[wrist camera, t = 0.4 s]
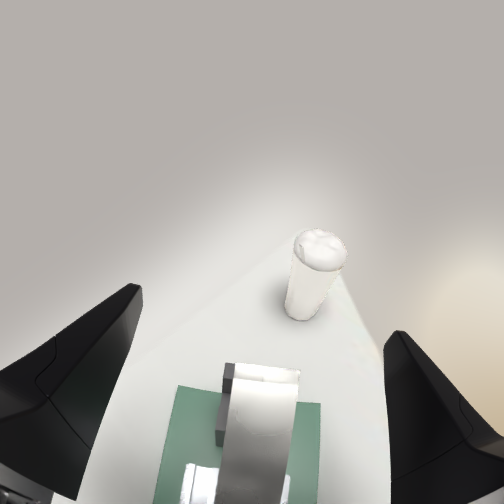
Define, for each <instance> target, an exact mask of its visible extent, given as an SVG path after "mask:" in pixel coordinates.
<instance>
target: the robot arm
mask: <svg viewBox="0 0 504 504" xmlns="http://www.w3.org/2000/svg"><path fill="white" fill-rule="evenodd" d="M142 307H143V299H142V288H141V286H140V285H137V284H133V283H129V284H127V285H126V286H125V287H123V288H122V289H120V290H119V291H117V292H116V293H114V294H113V295H111V296H110V297H108V298H107V299H106V300H104V301H103V302H101V303H100V304H98V305H97V306H95V307H94V308H93V309H91V310H90V311H88V312H87V313H85V314H84V315H83V316H81V317H80V318H79V319H77V320H76V321H74V322H73V323H71V324H70V325H69V326H67V327H66V328H64V329H63V330H62V331H60V332H59V333H58V334H56V337H55V336H53V337H52V338H51V339H49V340H48V341H47V342H45V343H44V344H42V345H41V346H39V347H38V348H37V349H35V350H33V351H32V352H30V353H29V354H27V355H26V356H24V357H22V358H21V359H19V360H17V361H16V362H14V363H12V364H11V365H9V366H7V367H6V368H4V369H3V370H1V371H0V504H51V502H52V498H53V494H54V492H55V493H58V494H60V495H62V496H64V497H67V498H69V499H71V500H74V501H76V499H77V496H78V492H79V489H80V485H81V482H82V479H83V475H84V472H85V469H86V466H87V463H88V460H89V457H90V454H91V450H92V447H93V444H94V441H95V438H96V436H97V433H98V430H99V427H100V424H101V422H102V419H103V416H104V413H105V411H106V408H107V405H108V403H109V400H110V397H111V395H112V392H113V390H114V387H115V385H116V382H117V380H118V377H119V375H120V372H121V370H122V367H123V365H124V362H125V360H126V358H127V355H128V353H129V350H130V347H131V344H132V341H133V338H134V334H135V331H136V327H137V324H138V321H139V318H140V314H141V311H142ZM383 351H384V352H383V354H384V384H385V395H386V404H387V415H388V427H389V442H390V462H391V481H392V482H391V504H504V437H503V436H501V435H499V434H498V433H497V432H496V431H494V429H493V428H492V427H491V426H490V425H489V424H488V423H487V422H486V421H485V420H484V419H483V418H482V417H481V416H480V415H479V414H478V412H477V411H476V410H475V409H474V408H473V407H472V406H471V405H470V404H469V403H468V401H467V400H466V399H465V398H464V397H463V396H462V395H461V393H460V392H459V391H458V390H457V389H456V387H455V386H454V385H453V384H452V383H451V382H450V381H449V379H448V378H447V377H446V376H445V375H444V374H443V373H442V371H441V370H440V369H439V368H438V367H437V366H436V365H435V364H434V362H433V361H432V360H431V359H430V358H429V357H428V356H427V355H426V353H425V352H424V351H423V350H422V349H421V348H420V347H419V346H418V345H417V344H416V342H414V340H413V339H412V338H411V337H410V336H409V335H408V334H407V333H406V332H405V331H398V330H396V331H394V332H393V334H392V335H391V336H390V338H389V339H388V340H387V342H386V343H385V345H384V349H383Z"/></svg>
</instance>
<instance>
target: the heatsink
mask: <svg viewBox="0 0 504 504" xmlns="http://www.w3.org/2000/svg"><path fill="white" fill-rule="evenodd" d="M219 472H220V470H219V468H212V469H211V468H205V467H200V466H196V465H195V464H191V463H189V464H186V468H185V474H184V479H183V485H182V491H181V496H180V502H179V504H215V499H216V492H217V486H218V479H219ZM289 483H290V475H285V480H284V486H283V491H282V496H281V502H280V504H288V494H289Z"/></svg>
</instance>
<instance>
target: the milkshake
mask: <svg viewBox="0 0 504 504" xmlns="http://www.w3.org/2000/svg"><path fill="white" fill-rule="evenodd" d="M347 257H348V253H347V250H346V248H345V245H344V244H343V242H342V240H341V239H340V238H338V237H337V236H336V235H334V234H333V233H331V232H328V231H324V230H322V229H311V230H306V231H304V232H302V233H300V234H299V235H298V236H297V237H296V239H295V242H294V247H293V255H292V263H291V272H290V279H289V284H288V290H287V295H286V300H285V305H284V308H285V310H286V312H287V314H288V316H290V317H292V318H294V319H296V320H297V321H300V320H308V319H310V318H311V317H312V316H314V315H315V313H316V312H317V310H318V308H319V307H320V305H321V303H322V301H323V300H324V298H325V296H326V295H327V293H328V291H329V289H330V288H331V286H332V284H333V282H334V281H335V279H336V277H337V276H338V274H339V272H340V271H341V269H342V267H343V266H344V264H345V263H346V260H347Z"/></svg>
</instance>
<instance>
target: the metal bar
mask: <svg viewBox="0 0 504 504" xmlns="http://www.w3.org/2000/svg"><path fill="white" fill-rule="evenodd" d="M299 378H300V370H294V369H284V368H275V367H266V366H258V365H250V364H243V363H236V364H235V371H234V378H233V384H232V391H231V398H230V405H229V411H228V418H227V425H226V432H225V438H224V445H223V452H222V459H221V465H220V472H219V479H218V486H217V492H216V499H215V504H280V502H281V496H282V491H283V486H284V480H285V475H286V469H287V463H288V457H289V451H290V444H291V438H292V431H293V424H294V417H295V410H296V402H297V394H298V386H299Z"/></svg>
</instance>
